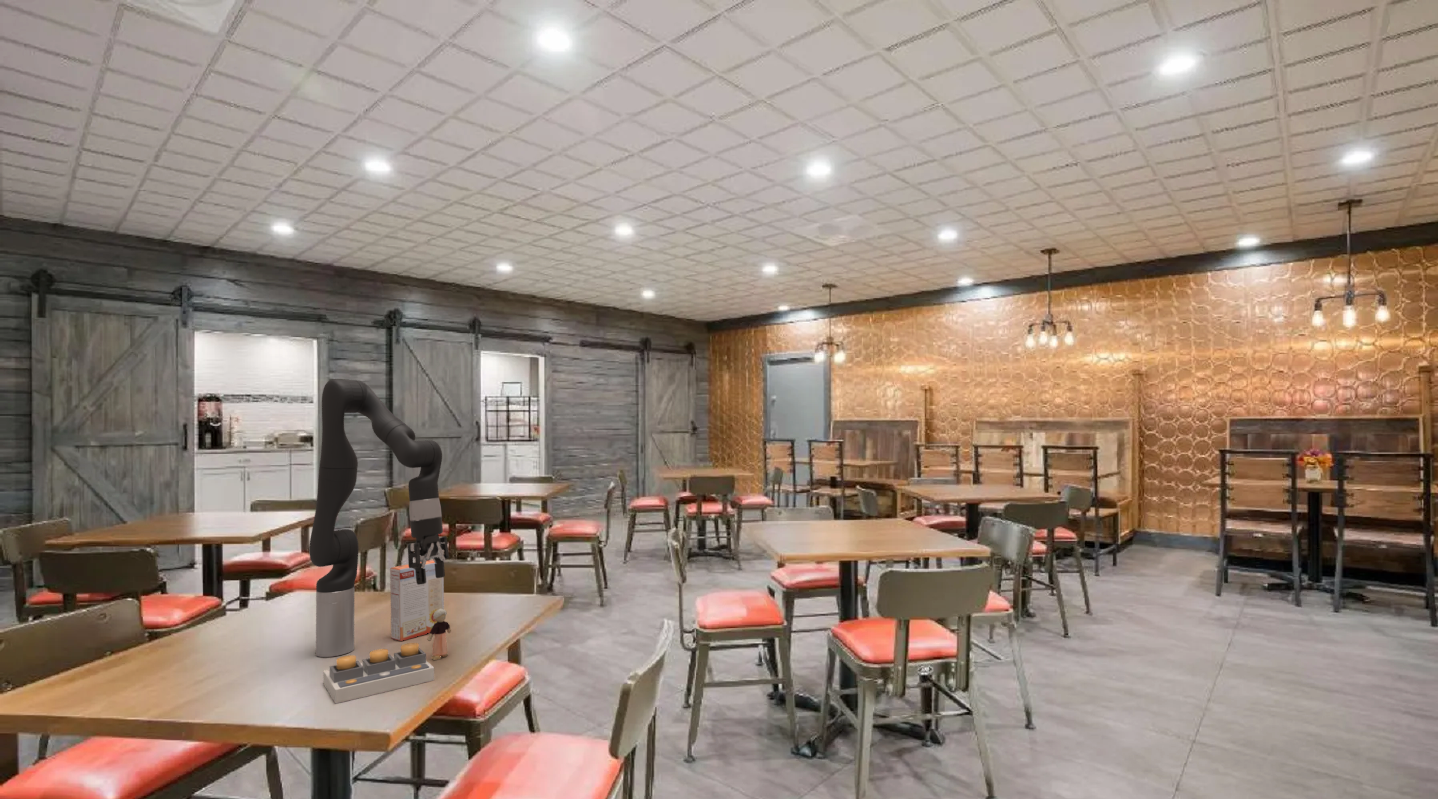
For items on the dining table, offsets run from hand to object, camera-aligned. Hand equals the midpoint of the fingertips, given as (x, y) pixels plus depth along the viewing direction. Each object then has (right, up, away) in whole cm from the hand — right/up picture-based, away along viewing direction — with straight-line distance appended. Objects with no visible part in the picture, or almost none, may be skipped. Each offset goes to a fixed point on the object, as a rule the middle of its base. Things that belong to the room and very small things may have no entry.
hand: (431, 580), depth 172 cm
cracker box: (-16, -24, +29) cm, 41 cm away
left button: (-14, -17, -14) cm, 26 cm away
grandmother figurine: (-1, -23, +8) cm, 24 cm away
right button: (-3, -17, -5) cm, 18 cm away
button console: (-8, -22, -10) cm, 25 cm away
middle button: (-9, -17, -9) cm, 21 cm away
